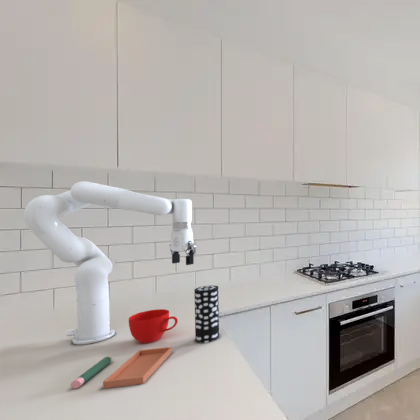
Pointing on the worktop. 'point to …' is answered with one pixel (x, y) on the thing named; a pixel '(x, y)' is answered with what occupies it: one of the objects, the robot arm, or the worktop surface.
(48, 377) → the worktop surface
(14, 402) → the worktop surface
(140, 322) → the ceramic cup
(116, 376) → the pencil tray
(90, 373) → the pencil
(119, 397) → the worktop surface
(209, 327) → the white-spotted black cylinder
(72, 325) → the worktop surface
